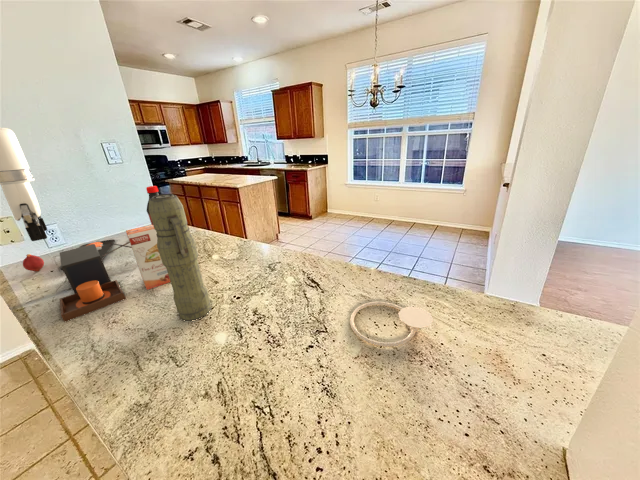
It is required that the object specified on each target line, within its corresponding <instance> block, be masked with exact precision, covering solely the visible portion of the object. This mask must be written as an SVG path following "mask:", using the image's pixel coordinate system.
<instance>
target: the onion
mask: <svg viewBox="0 0 640 480" xmlns="http://www.w3.org/2000/svg"><path fill="white" fill-rule="evenodd" d="M25 256H26V257H25V258H24V259H23V261H22V267H23V268H24V269H25V270H27V271H29V272H35V273H38V272H40V271H41V270H42V269H43V267H44V265H45V261H44V259H43V258H42V257H40V256H38V255H35V254H31V253H28V254H26V255H25Z"/></svg>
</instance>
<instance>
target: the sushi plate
mask: <svg viewBox="0 0 640 480" xmlns="http://www.w3.org/2000/svg"><path fill="white" fill-rule="evenodd" d="M115 242H116V239H105V240H101V241H95V242H91V243H90V242H89V243H84V244H81V245H79V247H78V248H80V247H84V246H88V245H92V244H95V246H96V248H97V250H98V252H99V254H100V257H101V259H102V261H103V260H104V258H105V257H106V256H107V255H108V254H111V253H112V252H114V251H116V250H118V249H120V248H122V247H125V248H130V249H132V247H131V245H128V244H130V241H129V240H128V241H127V242H126V243H124V244H119V243H115ZM113 246H118V247H116V248H115V249H113V250H111V249H112V248H113ZM110 250H111V251H110ZM59 270H60V271H61V270H62V271H63V269H62V267H61V265H60V266H59Z"/></svg>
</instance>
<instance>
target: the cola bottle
mask: <svg viewBox="0 0 640 480" xmlns="http://www.w3.org/2000/svg"><path fill="white" fill-rule="evenodd" d="M145 190H146V193H147V195H148V201H147V204H146V213H147V215H148V219H149V221H150V225H153V222H152V219H151V216H150V213H149V199H151V198H152V197H154V196H157V195H160V193H159V192H160V191H159V188H158V186H157V185H149V186H147V187H145Z"/></svg>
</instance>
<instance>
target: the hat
mask: <svg viewBox="0 0 640 480" xmlns="http://www.w3.org/2000/svg"><path fill="white" fill-rule="evenodd" d="M76 290H77V292H78V294H79V297H80V299H81V300H79V301H78V302H77V303H76V307H77V308H80V307H83V306H86V305H88V304H91V303H94V302H97V301H99V300H102V299H105V298H108V297H110V296H111V293H110V292H108V291H102V289H101V287H100V284H99V282H98V281H89V282H85V283H83V284H81V285H79V286H78V287H77V288H76Z"/></svg>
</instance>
